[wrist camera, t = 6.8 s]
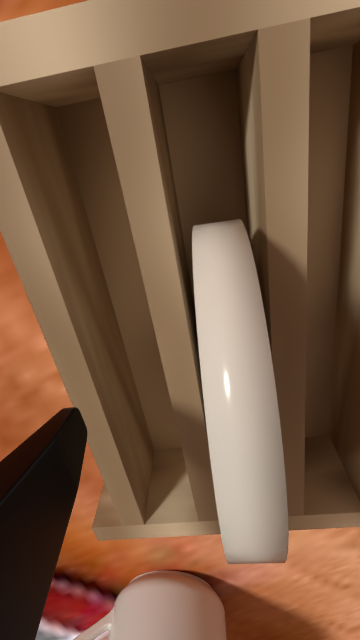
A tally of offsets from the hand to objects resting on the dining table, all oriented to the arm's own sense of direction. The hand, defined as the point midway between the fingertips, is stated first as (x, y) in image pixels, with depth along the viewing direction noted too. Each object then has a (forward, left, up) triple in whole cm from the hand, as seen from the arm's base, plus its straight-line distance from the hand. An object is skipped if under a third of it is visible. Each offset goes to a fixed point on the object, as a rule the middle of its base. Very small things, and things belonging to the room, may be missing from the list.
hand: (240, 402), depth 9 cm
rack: (0, 0, -7) cm, 7 cm away
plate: (0, 0, -1) cm, 1 cm away
